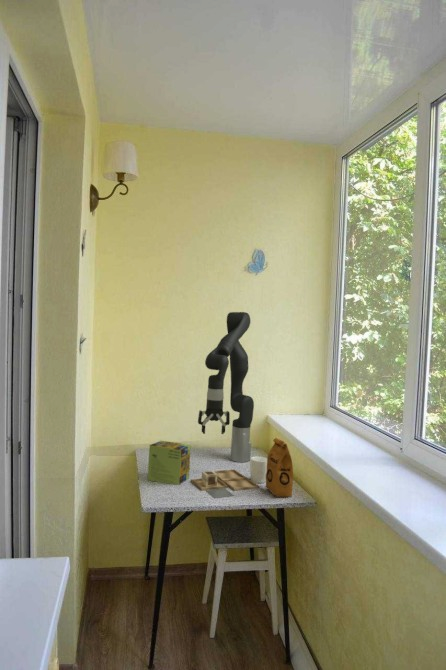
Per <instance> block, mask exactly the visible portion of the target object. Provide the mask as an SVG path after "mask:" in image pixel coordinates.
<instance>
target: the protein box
mask: <svg viewBox="0 0 446 670" xmlns="http://www.w3.org/2000/svg"><path fill="white" fill-rule="evenodd" d="M191 448H192V447H191V444H187V443H181V442H180V443H178V442H174V441H167V440H159V441H156V442H154V443H152V444H149V450H148V465H147V466H148V467H147V468H148V470H147V481H151V482H156V483H158V482H159V483H166V484H169V485H170V484H171V485H178V486H180V485H181V484H183V483H185V482H187V480H189V479H190V463H191Z"/></svg>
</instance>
